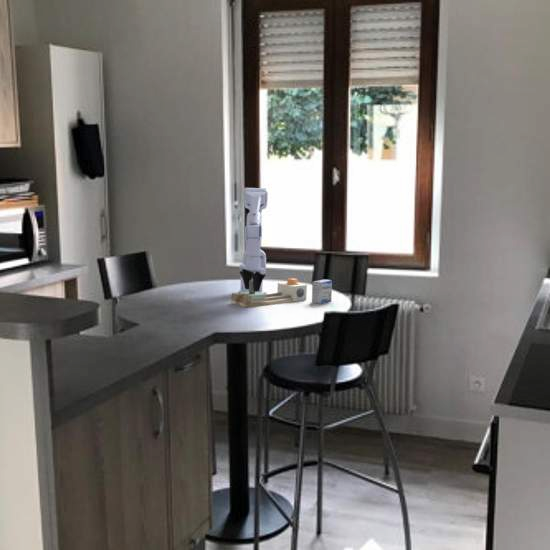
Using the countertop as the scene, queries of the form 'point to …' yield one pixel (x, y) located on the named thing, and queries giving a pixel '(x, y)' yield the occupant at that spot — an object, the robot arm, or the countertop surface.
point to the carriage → (253, 292)
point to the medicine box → (321, 291)
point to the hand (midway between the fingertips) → (252, 290)
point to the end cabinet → (293, 290)
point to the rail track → (260, 300)
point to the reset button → (292, 281)
